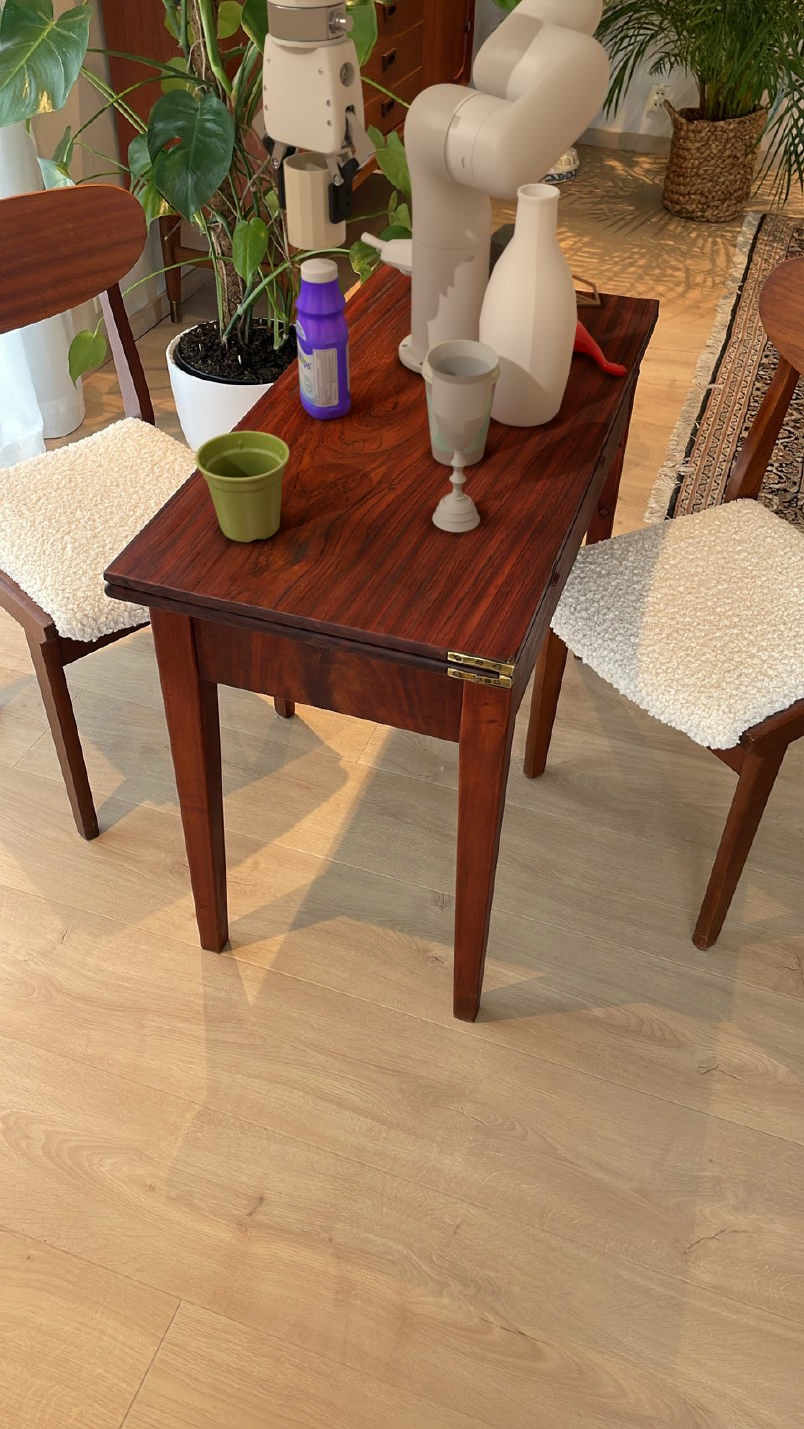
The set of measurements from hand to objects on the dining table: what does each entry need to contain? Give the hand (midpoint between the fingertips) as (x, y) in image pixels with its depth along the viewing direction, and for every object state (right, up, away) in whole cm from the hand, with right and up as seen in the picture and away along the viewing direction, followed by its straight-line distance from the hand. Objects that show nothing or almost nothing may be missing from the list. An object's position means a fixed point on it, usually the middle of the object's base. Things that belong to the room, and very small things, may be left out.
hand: (315, 211), depth 124 cm
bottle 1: (0, -17, +16) cm, 23 cm away
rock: (+23, +1, +28) cm, 36 cm away
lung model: (+23, +4, +31) cm, 39 cm away
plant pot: (-7, -34, -2) cm, 35 cm away
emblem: (+33, +6, +40) cm, 52 cm away
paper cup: (0, -2, +2) cm, 3 cm away
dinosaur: (+30, -1, +29) cm, 42 cm away
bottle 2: (+24, -17, +16) cm, 33 cm away
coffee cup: (+16, -24, +9) cm, 30 cm away
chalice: (+15, -33, -1) cm, 36 cm away
